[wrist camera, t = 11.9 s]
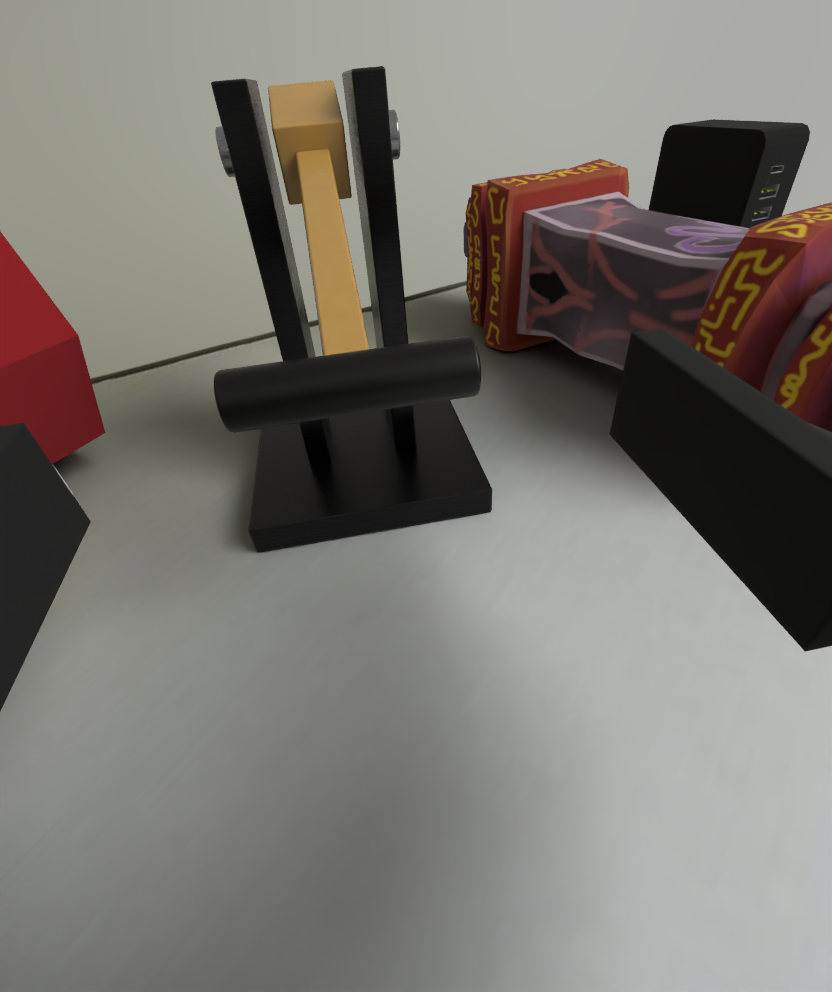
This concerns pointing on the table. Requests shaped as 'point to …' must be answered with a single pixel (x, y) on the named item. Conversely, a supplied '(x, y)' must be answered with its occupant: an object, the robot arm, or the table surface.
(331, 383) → the light lever
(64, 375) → the alarm clock
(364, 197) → the switch bracket
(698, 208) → the electronic device
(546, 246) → the red patterned flared cylinder
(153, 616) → the table surface
